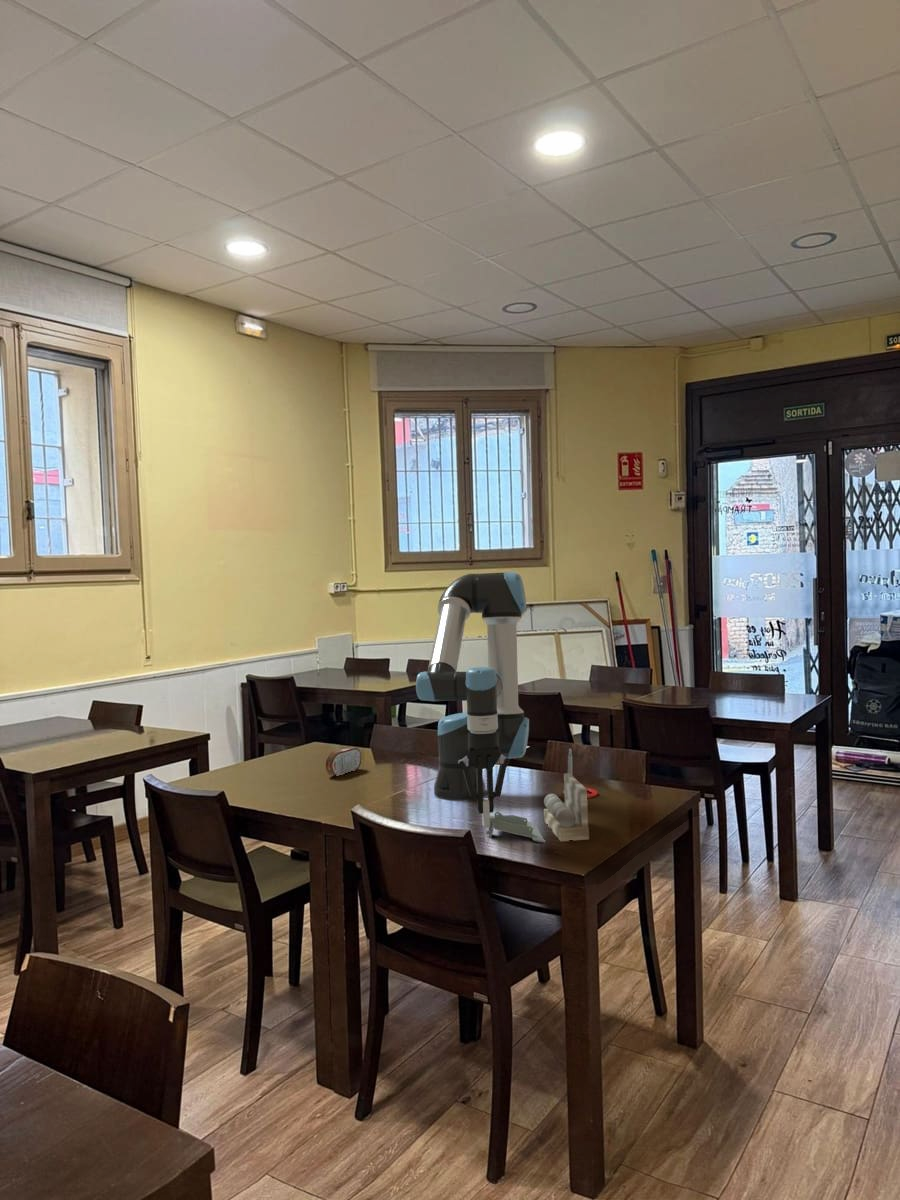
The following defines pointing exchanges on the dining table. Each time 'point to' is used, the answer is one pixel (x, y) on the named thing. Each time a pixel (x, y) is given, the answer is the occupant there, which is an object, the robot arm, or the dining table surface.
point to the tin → (343, 760)
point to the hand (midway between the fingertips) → (486, 825)
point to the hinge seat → (568, 811)
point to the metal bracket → (514, 826)
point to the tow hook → (572, 775)
